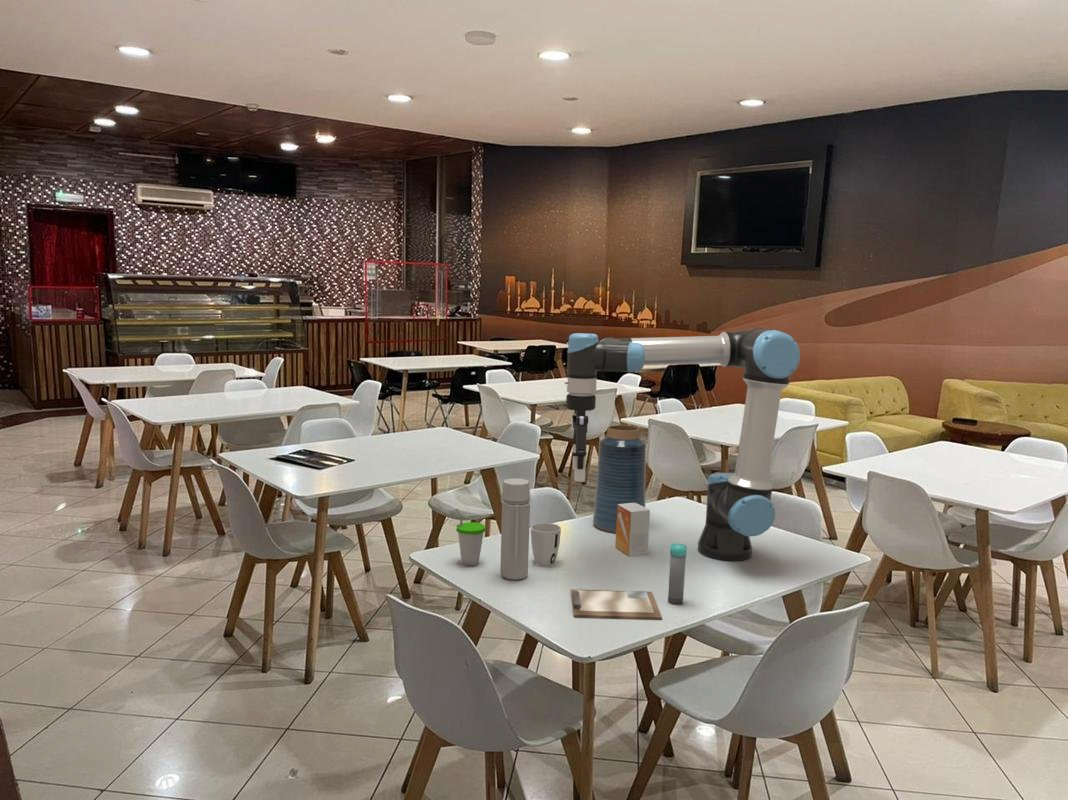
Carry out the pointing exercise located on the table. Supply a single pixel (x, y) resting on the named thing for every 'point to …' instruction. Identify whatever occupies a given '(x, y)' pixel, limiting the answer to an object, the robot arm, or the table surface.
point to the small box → (632, 529)
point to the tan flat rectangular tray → (614, 604)
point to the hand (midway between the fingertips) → (578, 474)
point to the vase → (619, 474)
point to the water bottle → (515, 528)
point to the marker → (677, 573)
